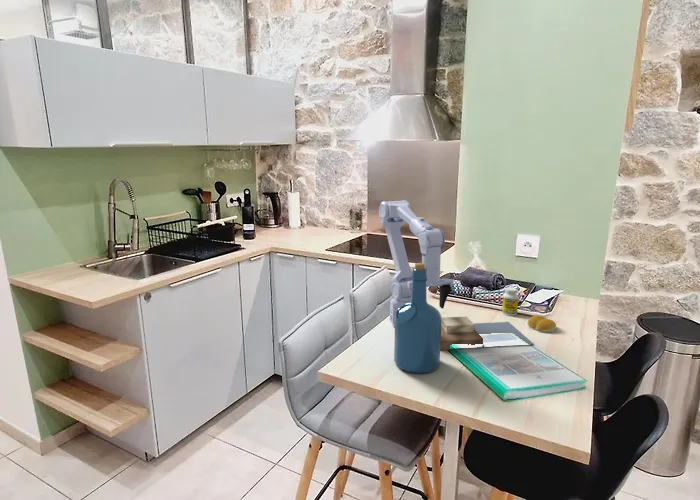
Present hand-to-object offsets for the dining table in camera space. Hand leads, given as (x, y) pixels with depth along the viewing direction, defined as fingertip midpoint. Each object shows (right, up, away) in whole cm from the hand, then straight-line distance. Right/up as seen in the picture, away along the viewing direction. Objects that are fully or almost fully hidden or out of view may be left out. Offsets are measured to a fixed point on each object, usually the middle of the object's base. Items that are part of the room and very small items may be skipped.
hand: (430, 308), depth 144 cm
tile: (+9, -7, +3) cm, 12 cm away
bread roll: (+40, -8, +10) cm, 42 cm away
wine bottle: (-7, -14, -15) cm, 22 cm away
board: (+8, -10, +3) cm, 13 cm away
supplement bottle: (+34, -5, +23) cm, 41 cm away
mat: (+23, -9, +5) cm, 25 cm away
